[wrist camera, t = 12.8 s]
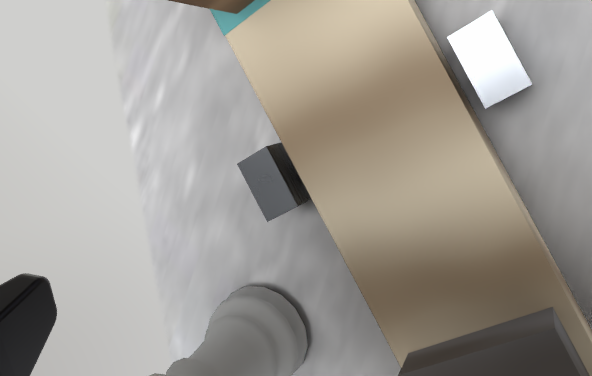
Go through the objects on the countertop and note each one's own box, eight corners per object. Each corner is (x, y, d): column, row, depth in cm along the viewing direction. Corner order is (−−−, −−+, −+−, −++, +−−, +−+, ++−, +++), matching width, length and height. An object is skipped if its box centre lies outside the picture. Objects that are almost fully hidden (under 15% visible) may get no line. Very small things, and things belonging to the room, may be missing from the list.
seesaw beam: (615, 366, 18) (634, 435, 14) (450, 409, 20) (434, 475, 17) (310, -200, 18) (260, -263, 15) (188, -85, 21) (122, -116, 17)
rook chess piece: (269, 263, 23) (150, 347, 16) (331, 346, 23) (238, 471, 15) (207, 312, 25) (76, 407, 18) (264, 390, 24) (152, 519, 17)
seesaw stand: (532, 83, 17) (532, 84, 15) (300, 204, 22) (267, 221, 19) (365, -226, 18) (335, -280, 15) (169, -46, 22) (119, -63, 19)
